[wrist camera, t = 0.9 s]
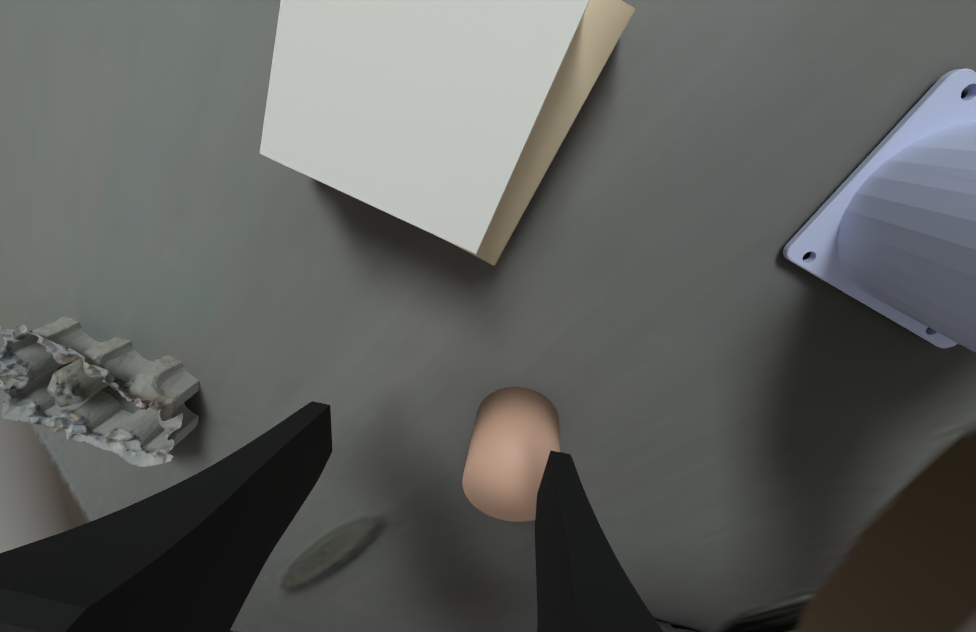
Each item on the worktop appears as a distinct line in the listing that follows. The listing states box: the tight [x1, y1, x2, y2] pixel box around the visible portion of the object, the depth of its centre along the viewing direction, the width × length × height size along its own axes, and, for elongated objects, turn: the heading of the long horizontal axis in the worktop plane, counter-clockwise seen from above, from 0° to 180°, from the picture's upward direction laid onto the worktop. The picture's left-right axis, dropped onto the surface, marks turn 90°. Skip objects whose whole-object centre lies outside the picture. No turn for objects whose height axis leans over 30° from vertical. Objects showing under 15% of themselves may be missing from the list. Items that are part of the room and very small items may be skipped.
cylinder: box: [462, 387, 560, 522], centre depth 22 cm, size 5×5×5 cm
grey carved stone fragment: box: [0, 317, 199, 467], centre depth 25 cm, size 11×8×4 cm
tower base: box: [444, 0, 635, 266], centre depth 16 cm, size 10×10×3 cm
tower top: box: [260, 0, 590, 254], centre depth 13 cm, size 8×8×3 cm
